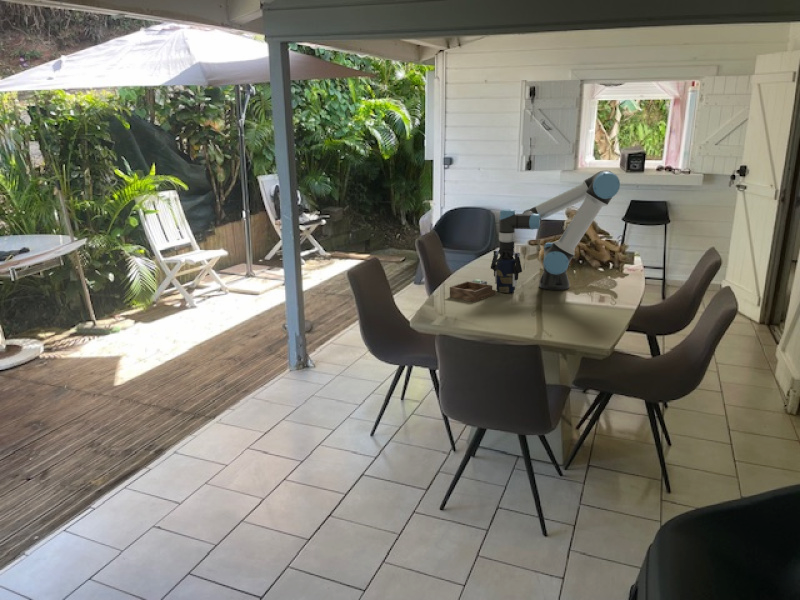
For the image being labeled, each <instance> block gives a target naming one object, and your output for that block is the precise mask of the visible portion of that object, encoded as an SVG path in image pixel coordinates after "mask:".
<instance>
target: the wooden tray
mask: <svg viewBox="0 0 800 600" xmlns="http://www.w3.org/2000/svg"><path fill="white" fill-rule="evenodd" d="M496 291H497V290H496V289H493V285H491V284H487V285H486V284H480V283H475V282H470V281H467V280H466V281H465V282H462V283H457V284H455V285H452V286H450V287H449V298H453V299H459V300H464V301H469V302H474V303H476V302H478V301H481V300H483V299H486V298H489V297H492V296H494V295H496Z"/></svg>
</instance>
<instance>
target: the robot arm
mask: <svg viewBox="0 0 800 600" xmlns="http://www.w3.org/2000/svg"><path fill="white" fill-rule="evenodd" d="M620 184H621V182H620V179H619V177H618V175H616V174H615V173H614V172H612V171H610V170H607V169H606V170H599V171H598V172H596V173H595V174H593V175H592V176H590V177H588V178H586V179H585V180H583V182H582V183H581V184H579V185H576V186H575V187H572V188H571V189H567V190H566V191H564V192H562V193H561V194H560V193H559V194H558V195H556V196H553V197H551V198H550V199H548V200H546V201H543V202H542V203H540V204H538V205H535V206H533V207H531V208H529V209H526V210H524V211H523V212H522V213H516V209H513V208H502V209H501V210H500V211H499V222H498V225H499V228H498V230H499V232H498V240H499V242H498V248H499V250H498V249H496V250H493V256H492V260H491V264H490V269H491V270H493V276H494V284H495V285H497V282H496V275H497V259H501V258H503V259H508V260H513V259H515V262H516V264H513V271H514V274H513V287H515V288H516V287H517V285H518V281H517V280H519V274H521V273H522V272H523V268H522V264H521V258H520V256H521V255H520V254H521V253H520V252H515V232H516V231H515V230H531V231H532V230H539V229H540V227H541V226H540V225H541V221H542V220H545V219H546V218H548V217H551V216H553V215H555V214H558V213H559V212H561V211H563V210H566V209H568V208H570V207H572V206H574V205H576V204H579V203H581V202H582V201H583V202H582V204H581V205H580V206H579V208H578V209H577V211H576V212H575V214H574V216H573V218H572V219H571V221H570V222H569V223H568V225H567V227H566V228H565V230H564V231H563V233H562V234H561V236H560V237H559V239H558V240H556V241H554V242H546V243H545V244H544V246H543V261H542V263H543V269H542V271H543V272H542V274H541V277H540V279H539V287H540V288H541V289H544V290H551V291H563V290H568V289H570V280H569V277H568V273H567V270H568V268H569V264H570V262H571V261H572V259H573V258H574V257H575V254H576V252H575V249H576V248H577V247H578V244H579V243H580V241H581V240H582V239H583V237H584V236H585V234H586V233H587V231H588V229H589V228H590V226H591V224H592V223H593V222H594V220H595V219H596V217H597V216H598V214H599V213H600V211H601V210H602V208H603V207H607V206H608V205H609V203H610V202H611V200H612V199H613V197H615V196H616V195H617V194H618V192H619V190H620V187H621V185H620ZM498 257H499V258H498Z"/></svg>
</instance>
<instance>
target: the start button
mask: <svg viewBox="0 0 800 600" xmlns="http://www.w3.org/2000/svg"><path fill="white" fill-rule="evenodd" d="M481 281H482V280H481V279H478V278H476V279H474V282H475V283H481Z"/></svg>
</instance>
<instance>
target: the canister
mask: <svg viewBox="0 0 800 600" xmlns="http://www.w3.org/2000/svg"><path fill="white" fill-rule="evenodd" d="M496 264H497V275H496V282H497V284H496V289H495V290H496V291H497V292H499V293H504V294H507V293H508V294H510V293H512V292H513V293H514V292H515V290H516V286H515V287H513V274H514V271H513V264H516V262H515V258H514V259H513V260H508V259H503V258H501V259H499V258H497V262H496Z"/></svg>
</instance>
